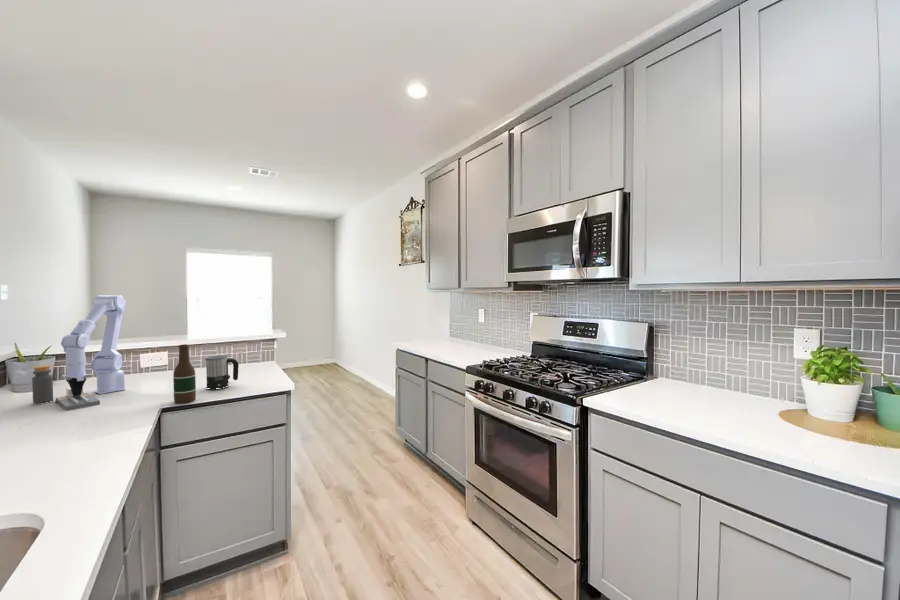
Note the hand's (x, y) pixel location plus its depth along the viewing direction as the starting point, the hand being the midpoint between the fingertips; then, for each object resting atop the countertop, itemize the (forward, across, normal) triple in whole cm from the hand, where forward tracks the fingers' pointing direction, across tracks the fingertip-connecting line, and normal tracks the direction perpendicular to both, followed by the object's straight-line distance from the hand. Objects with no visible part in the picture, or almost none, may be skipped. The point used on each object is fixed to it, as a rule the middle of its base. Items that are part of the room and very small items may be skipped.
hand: (76, 395), depth 163 cm
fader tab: (+1, -3, 0) cm, 4 cm away
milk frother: (+3, +18, +48) cm, 51 cm away
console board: (+3, +1, 0) cm, 3 cm away
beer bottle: (+3, +33, +28) cm, 43 cm away
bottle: (+3, -12, -8) cm, 15 cm away
